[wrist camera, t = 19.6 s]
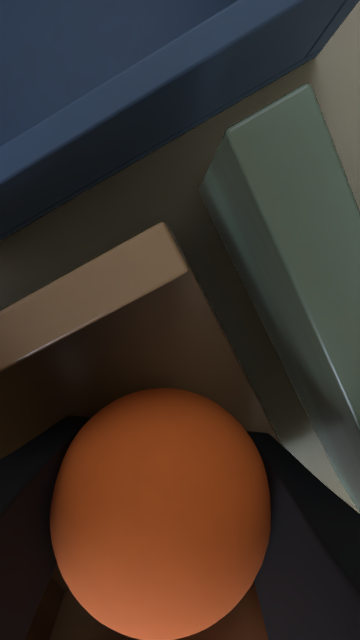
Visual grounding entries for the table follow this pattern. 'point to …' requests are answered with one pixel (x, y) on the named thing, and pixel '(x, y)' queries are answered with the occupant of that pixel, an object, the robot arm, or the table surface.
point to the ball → (160, 514)
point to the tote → (130, 82)
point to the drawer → (205, 321)
